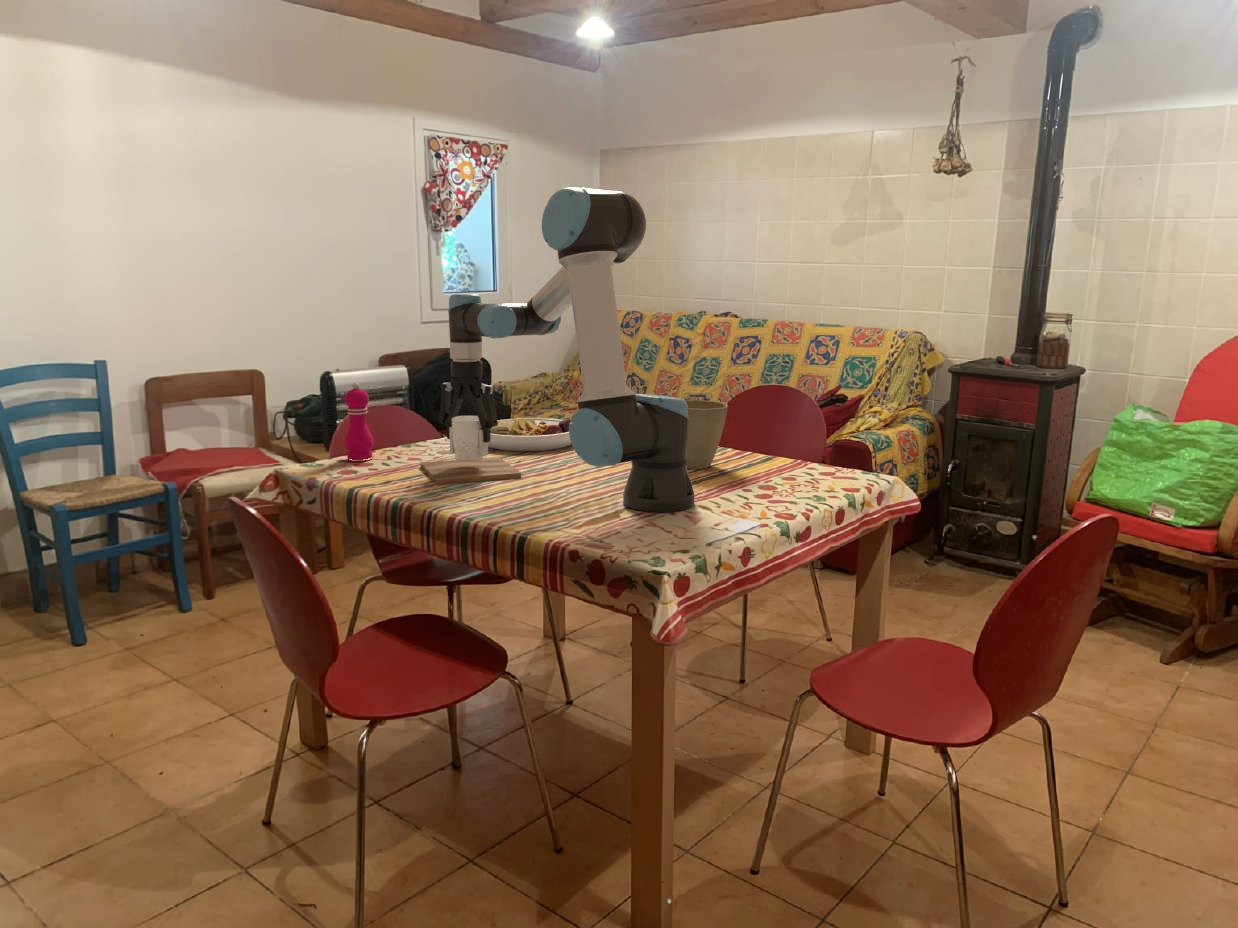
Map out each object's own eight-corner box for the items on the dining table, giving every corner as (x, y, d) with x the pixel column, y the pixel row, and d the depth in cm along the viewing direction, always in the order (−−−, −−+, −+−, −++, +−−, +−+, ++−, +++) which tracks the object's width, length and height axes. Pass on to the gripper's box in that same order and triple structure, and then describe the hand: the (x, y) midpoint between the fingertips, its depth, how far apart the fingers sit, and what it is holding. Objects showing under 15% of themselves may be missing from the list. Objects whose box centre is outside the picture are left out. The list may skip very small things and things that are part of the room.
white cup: (478, 462, 212) (477, 421, 210) (447, 461, 213) (446, 420, 211) (489, 456, 219) (489, 416, 217) (459, 454, 221) (458, 414, 219)
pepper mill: (367, 462, 227) (363, 384, 223) (340, 461, 228) (335, 384, 224) (379, 457, 234) (375, 381, 230) (353, 456, 235) (348, 380, 231)
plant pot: (669, 472, 218) (670, 408, 215) (664, 460, 233) (665, 399, 229) (730, 472, 219) (732, 408, 215) (721, 460, 233) (723, 400, 230)
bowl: (456, 450, 246) (455, 422, 244) (502, 432, 274) (501, 406, 272) (558, 457, 237) (558, 428, 236) (594, 438, 265) (594, 411, 264)
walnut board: (521, 477, 212) (521, 472, 212) (437, 484, 204) (437, 479, 204) (498, 461, 230) (498, 456, 230) (420, 467, 222) (420, 462, 222)
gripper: (512, 360, 211) (513, 454, 216) (438, 356, 218) (441, 447, 223) (496, 363, 204) (498, 460, 209) (420, 359, 212) (424, 453, 217)
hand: (469, 453), depth 216 cm, fingers closed on white cup, 8 cm apart
